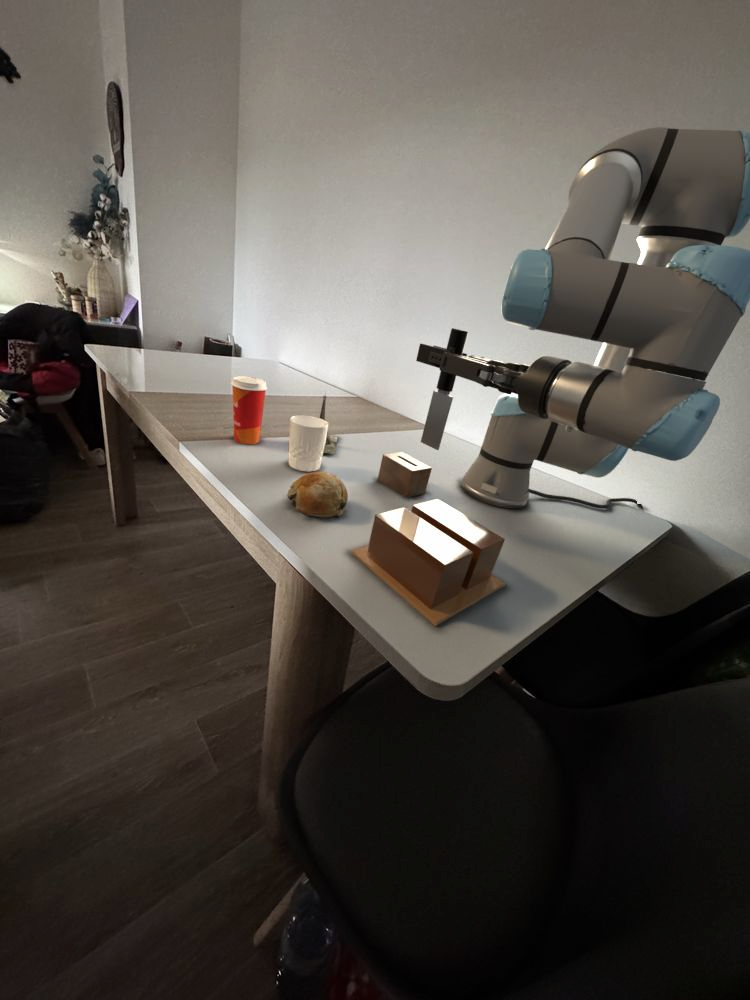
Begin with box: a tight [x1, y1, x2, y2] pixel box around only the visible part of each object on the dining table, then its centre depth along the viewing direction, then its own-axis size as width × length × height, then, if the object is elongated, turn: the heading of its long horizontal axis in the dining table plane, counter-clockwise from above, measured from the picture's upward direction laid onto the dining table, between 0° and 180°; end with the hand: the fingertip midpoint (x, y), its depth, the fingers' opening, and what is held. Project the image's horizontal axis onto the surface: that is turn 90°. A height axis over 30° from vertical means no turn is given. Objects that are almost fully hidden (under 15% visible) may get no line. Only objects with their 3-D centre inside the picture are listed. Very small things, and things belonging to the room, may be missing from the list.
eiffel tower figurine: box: [318, 391, 338, 455], centre depth 96 cm, size 15×10×13 cm
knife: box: [420, 327, 469, 451], centre depth 63 cm, size 4×3×19 cm, turn 41°
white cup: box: [288, 414, 330, 473], centre depth 83 cm, size 8×8×10 cm
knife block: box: [377, 451, 433, 499], centre depth 84 cm, size 9×6×6 cm, turn 41°
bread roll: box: [286, 471, 349, 519], centre depth 69 cm, size 10×10×8 cm
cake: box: [351, 498, 506, 627], centre depth 57 cm, size 17×16×8 cm
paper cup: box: [230, 375, 268, 445], centre depth 89 cm, size 8×8×14 cm
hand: (426, 353), depth 64 cm, fingers closed on knife, 3 cm apart
